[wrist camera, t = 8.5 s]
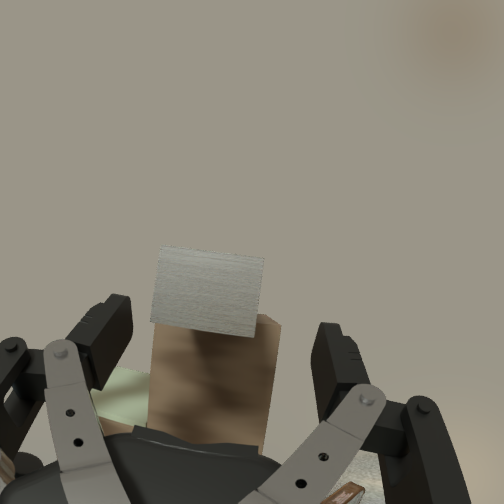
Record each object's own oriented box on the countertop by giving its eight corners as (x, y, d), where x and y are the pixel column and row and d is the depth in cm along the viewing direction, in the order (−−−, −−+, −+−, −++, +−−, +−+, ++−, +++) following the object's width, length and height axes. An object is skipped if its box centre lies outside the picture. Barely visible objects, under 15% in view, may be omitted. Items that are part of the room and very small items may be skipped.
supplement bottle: (76, 529, 21) (63, 463, 22) (54, 557, 14) (32, 489, 16) (33, 508, 20) (17, 440, 22) (8, 530, 14) (-17, 459, 16)
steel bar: (149, 321, 11) (161, 244, 12) (210, 307, 33) (213, 279, 33) (253, 337, 11) (264, 258, 12) (247, 312, 33) (250, 284, 33)
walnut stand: (83, 568, 14) (57, 287, 19) (119, 510, 28) (124, 293, 33) (230, 603, 14) (281, 325, 19) (232, 533, 28) (265, 314, 33)
